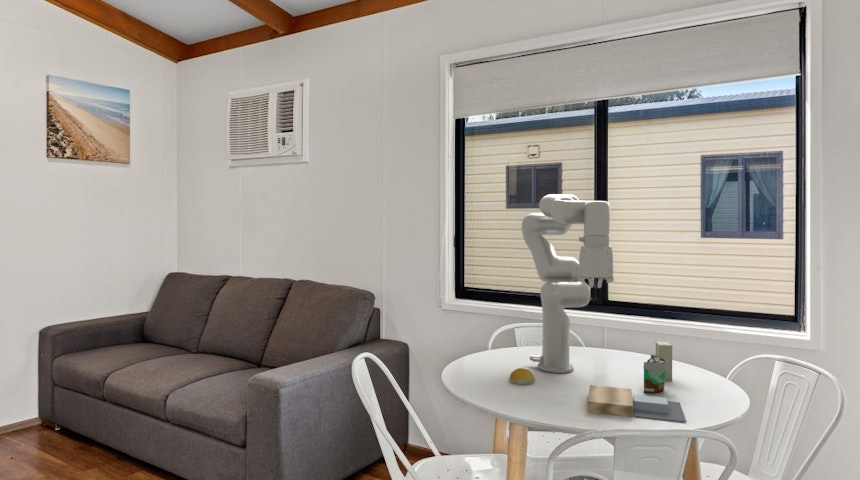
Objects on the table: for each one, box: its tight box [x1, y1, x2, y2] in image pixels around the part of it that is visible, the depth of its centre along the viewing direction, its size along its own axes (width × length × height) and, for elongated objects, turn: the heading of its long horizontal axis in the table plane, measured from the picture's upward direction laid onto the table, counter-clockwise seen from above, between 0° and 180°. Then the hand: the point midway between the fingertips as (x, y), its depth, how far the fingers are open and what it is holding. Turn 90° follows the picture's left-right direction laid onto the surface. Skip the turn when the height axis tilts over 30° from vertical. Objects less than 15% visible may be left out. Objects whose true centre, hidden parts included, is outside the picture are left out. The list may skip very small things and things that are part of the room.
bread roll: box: [508, 367, 536, 386], centre depth 185 cm, size 8×9×4 cm
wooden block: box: [586, 384, 634, 418], centre depth 162 cm, size 12×16×3 cm
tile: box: [632, 394, 668, 413], centre depth 159 cm, size 9×6×2 cm, turn 72°
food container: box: [643, 354, 668, 395], centre depth 176 cm, size 12×6×10 cm, turn 148°
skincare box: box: [655, 340, 673, 382], centre depth 189 cm, size 6×4×12 cm
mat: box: [633, 400, 687, 423], centre depth 158 cm, size 13×16×1 cm
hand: (595, 300), depth 172 cm, fingers closed
